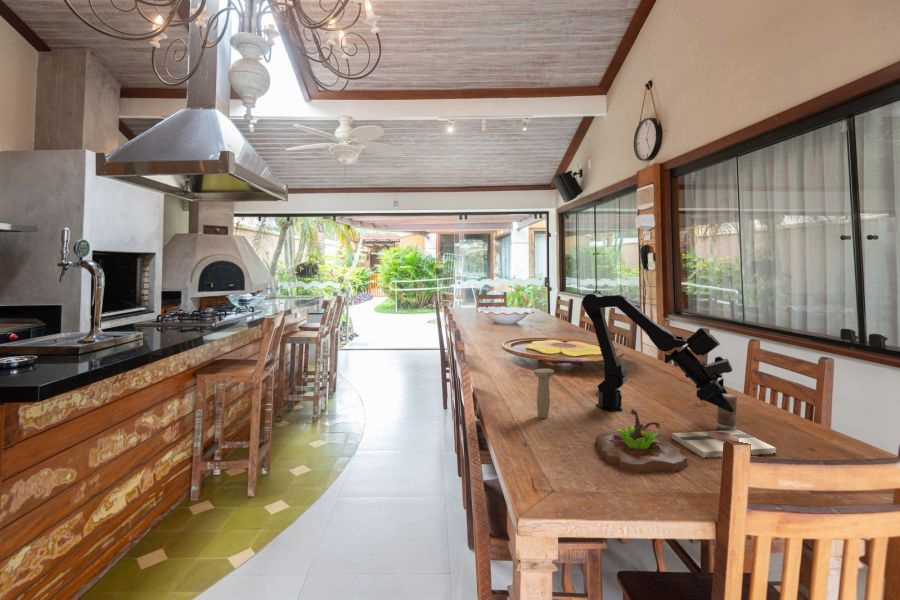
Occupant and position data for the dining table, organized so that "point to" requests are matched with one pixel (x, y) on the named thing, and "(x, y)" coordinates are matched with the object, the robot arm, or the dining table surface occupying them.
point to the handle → (543, 391)
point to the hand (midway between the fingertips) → (732, 408)
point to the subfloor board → (719, 442)
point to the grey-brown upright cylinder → (727, 415)
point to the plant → (640, 449)
